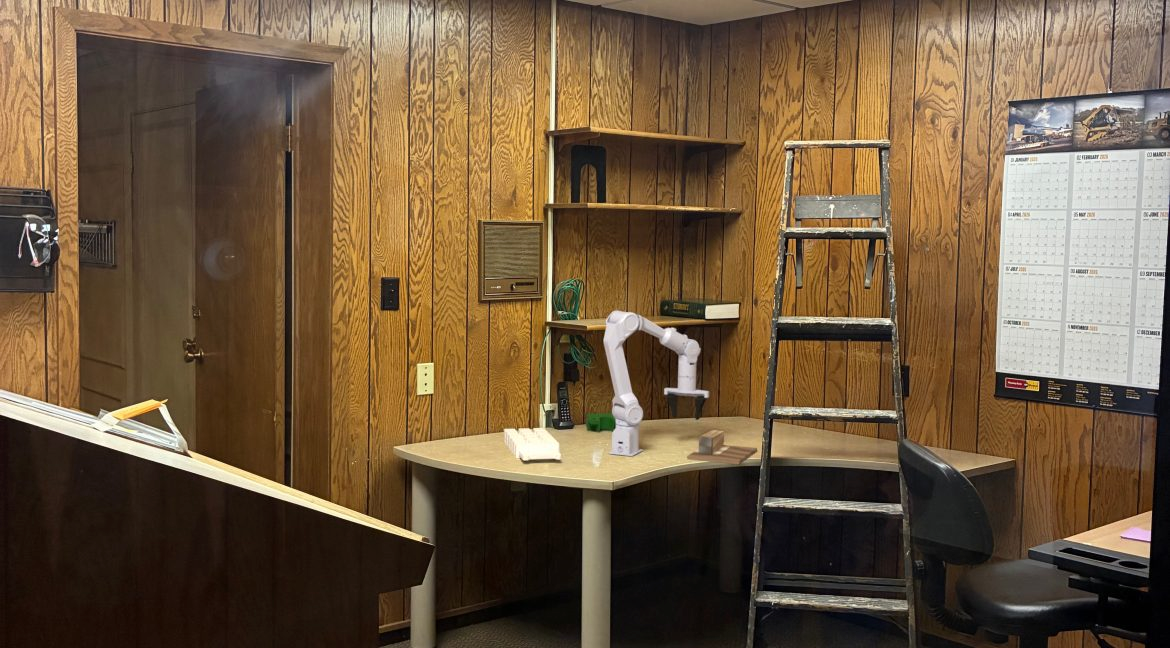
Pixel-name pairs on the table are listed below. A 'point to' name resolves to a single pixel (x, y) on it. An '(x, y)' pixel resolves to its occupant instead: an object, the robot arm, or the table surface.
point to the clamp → (600, 422)
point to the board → (725, 454)
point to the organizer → (532, 444)
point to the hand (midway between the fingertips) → (686, 418)
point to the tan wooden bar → (711, 442)
